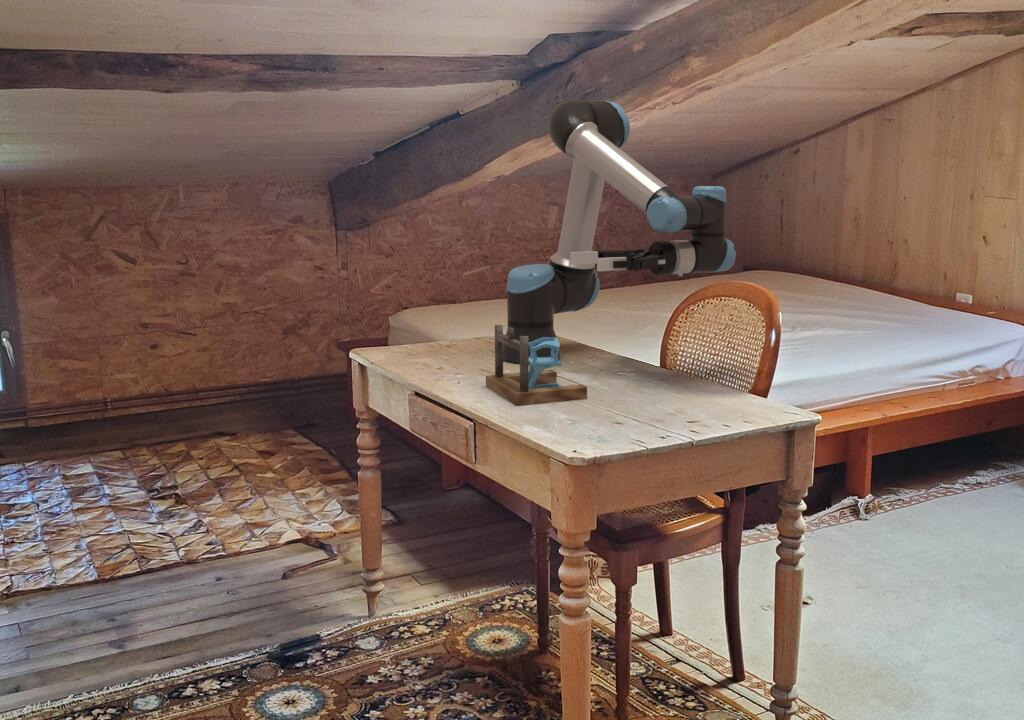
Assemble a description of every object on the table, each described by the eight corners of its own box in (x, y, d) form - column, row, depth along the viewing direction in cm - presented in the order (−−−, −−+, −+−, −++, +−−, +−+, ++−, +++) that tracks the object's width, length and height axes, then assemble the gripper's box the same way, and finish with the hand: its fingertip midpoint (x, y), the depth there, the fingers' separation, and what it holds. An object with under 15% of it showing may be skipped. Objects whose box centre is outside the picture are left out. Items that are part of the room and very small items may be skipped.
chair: (522, 388, 220) (522, 335, 218) (559, 387, 221) (559, 334, 219) (527, 396, 213) (527, 341, 210) (565, 395, 214) (565, 340, 211)
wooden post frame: (551, 380, 228) (551, 317, 225) (586, 398, 210) (587, 330, 207) (485, 386, 222) (485, 322, 219) (516, 405, 205) (516, 336, 202)
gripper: (699, 280, 212) (609, 285, 204) (642, 268, 234) (560, 272, 227) (700, 245, 210) (610, 249, 202) (643, 236, 233) (560, 239, 225)
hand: (583, 261), depth 215 cm, fingers open, 13 cm apart
